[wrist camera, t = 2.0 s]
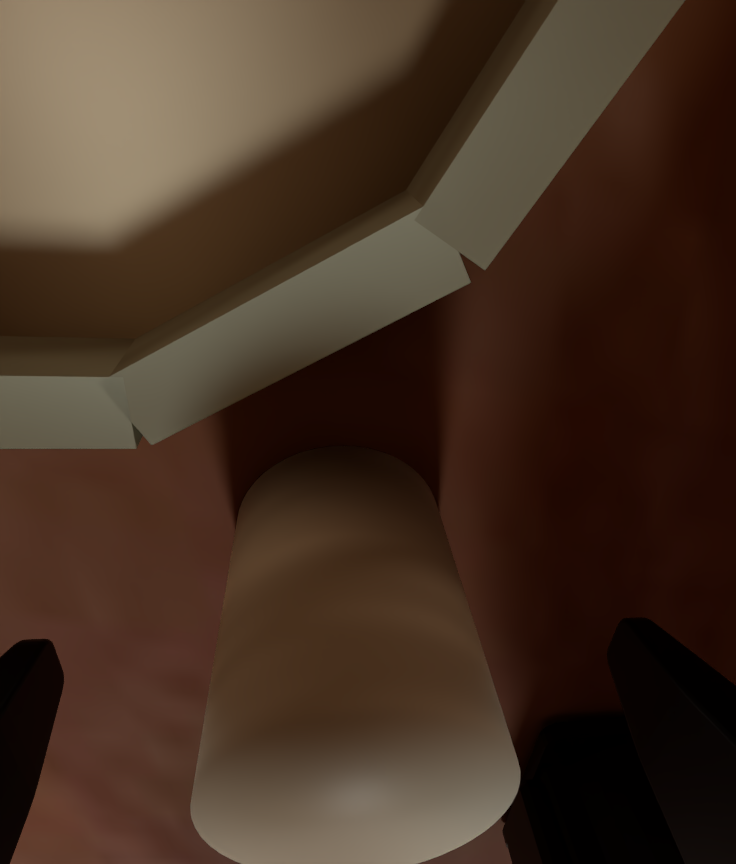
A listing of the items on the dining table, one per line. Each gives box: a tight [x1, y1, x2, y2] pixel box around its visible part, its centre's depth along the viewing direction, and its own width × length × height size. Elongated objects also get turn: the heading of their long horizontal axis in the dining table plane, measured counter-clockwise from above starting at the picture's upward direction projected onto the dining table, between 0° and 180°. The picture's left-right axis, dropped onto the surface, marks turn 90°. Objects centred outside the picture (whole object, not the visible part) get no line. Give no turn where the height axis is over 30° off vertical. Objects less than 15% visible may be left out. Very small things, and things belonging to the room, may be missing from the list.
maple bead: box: [190, 446, 521, 864], centre depth 9 cm, size 4×4×5 cm
